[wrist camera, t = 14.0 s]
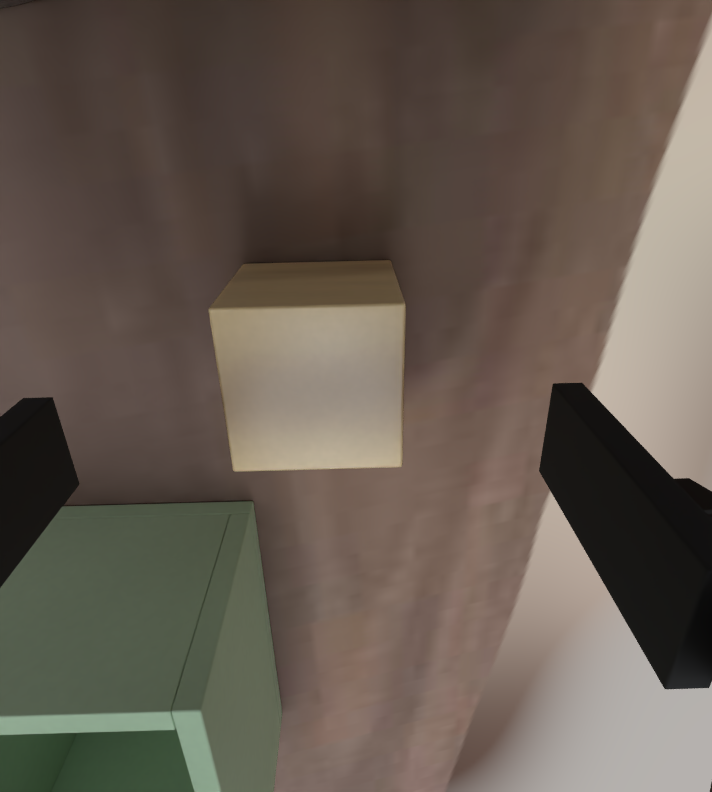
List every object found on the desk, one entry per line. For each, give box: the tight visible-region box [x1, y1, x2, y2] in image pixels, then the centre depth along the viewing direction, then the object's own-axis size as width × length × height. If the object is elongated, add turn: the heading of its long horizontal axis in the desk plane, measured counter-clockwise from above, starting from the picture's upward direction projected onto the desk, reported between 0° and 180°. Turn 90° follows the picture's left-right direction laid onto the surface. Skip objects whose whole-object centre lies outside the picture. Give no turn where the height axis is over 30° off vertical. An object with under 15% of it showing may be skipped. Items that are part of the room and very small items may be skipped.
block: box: [208, 260, 406, 472], centre depth 18 cm, size 6×6×6 cm
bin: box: [0, 501, 282, 792], centre depth 24 cm, size 16×12×10 cm
